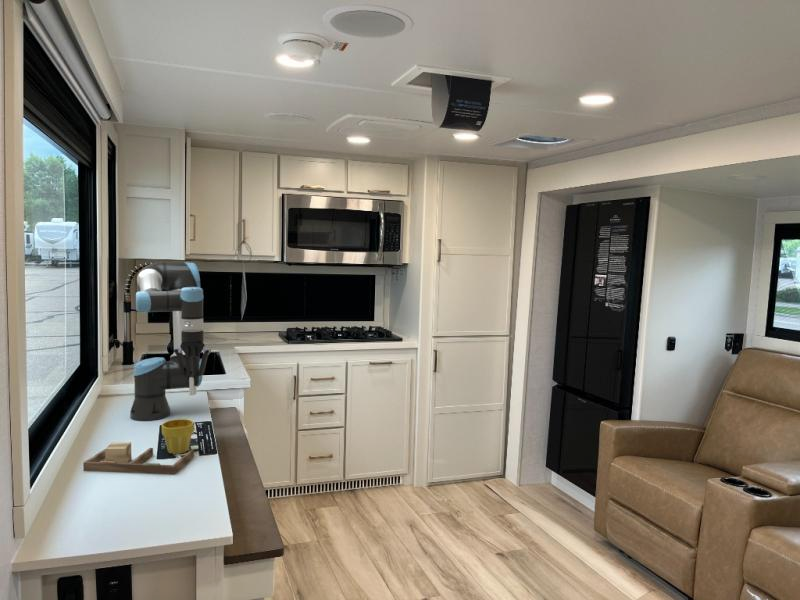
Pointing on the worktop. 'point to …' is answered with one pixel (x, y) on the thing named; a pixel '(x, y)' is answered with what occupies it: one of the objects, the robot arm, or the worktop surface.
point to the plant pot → (178, 435)
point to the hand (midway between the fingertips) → (193, 394)
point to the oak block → (118, 452)
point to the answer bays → (135, 464)
